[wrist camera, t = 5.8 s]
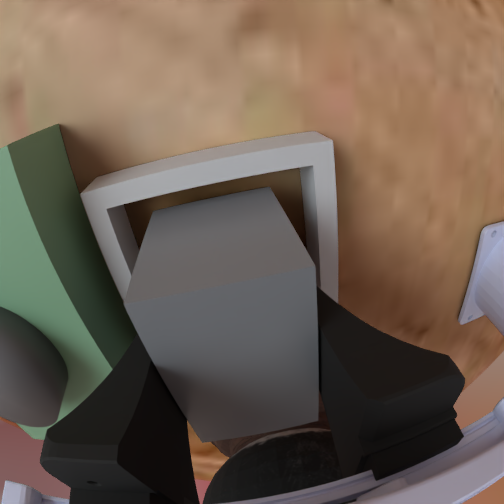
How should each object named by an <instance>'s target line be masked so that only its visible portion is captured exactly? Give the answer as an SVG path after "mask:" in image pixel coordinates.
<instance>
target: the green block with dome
mask: <svg viewBox="0 0 504 504" xmlns="http://www.w3.org/2000/svg"><path fill="white" fill-rule="evenodd" d="M299 167H300V177H301V187H302V197H303V208H304V219H305V231H306V244H307V252H308V254H309V255H310V257H311V259H312V261H313V263H314V264H315V270H316V285H317V286H318V287H319V288H320V289H321V290H322V291H324V292H325V293H326V294H327V295H328V296H329V297H331V298H332V299H333V300H334V301H336V302H337V303H338V224H337V197H336V178H335V162H334V148H333V140H331V139H329V138H327V137H325V136H323V135H322V134H320V133H318V132H316V131H311V132H303V133H296V134H289V135H282V136H275V137H269V138H263V139H257V140H251V141H245V142H240V143H235V144H229V145H224V146H219V147H214V148H209V149H204V150H200V151H195V152H191V153H186V154H182V155H178V156H173V157H169V158H165V159H161V160H157V161H153V162H149V163H145V164H141V165H138V166H134V167H130V168H127V169H123V170H120V171H116V172H113V173H109V174H106V175H102V176H99V177H96V178H95V179H94V180H93V181H92V182H91V183H90V184H89V185H88V186H87V187H86V189H85V190H84V191H83V192H82V193H81V194H79V191H78V188H77V185H76V182H75V179H74V176H73V173H72V170H71V166H70V163H69V160H68V157H67V153H66V150H65V146H64V143H63V139H62V135H61V132H60V128H59V124H56V125H53V126H51V127H48V128H46V129H43V130H41V131H39V132H36V133H34V134H31V135H29V136H27V137H24V138H22V139H20V140H18V141H15V142H13V143H11V144H9V145H7V146H5V147H3V148H1V149H0V416H1V417H3V418H5V419H7V420H9V421H12V422H15V423H17V424H18V425H19V426H20V427H21V428H22V429H23V430H24V431H25V432H26V433H28V434H29V435H30V436H31V437H32V438H34V439H42V440H44V439H45V435H46V431H47V429H48V428H50V427H51V426H53V425H54V424H55V423H57V422H58V421H60V420H61V419H62V418H64V417H65V416H66V415H68V414H69V413H70V412H71V411H72V410H74V409H75V408H76V407H77V406H78V405H79V404H81V403H82V402H83V401H84V400H85V399H86V398H87V397H88V396H89V395H90V394H91V393H92V392H93V391H94V390H95V389H96V388H97V387H98V386H99V385H100V384H101V382H102V381H103V380H104V379H105V378H106V377H107V376H108V375H109V373H110V372H111V371H112V370H113V368H114V367H115V366H116V365H117V363H118V362H119V361H120V359H121V358H122V356H123V355H124V353H125V352H126V350H127V349H128V347H129V346H130V344H131V343H132V341H133V340H134V338H135V336H136V335H137V331H136V329H135V327H134V325H133V323H132V321H131V319H130V317H129V315H128V313H127V311H126V308H125V306H124V302H123V301H124V300H125V297H126V293H127V290H128V286H129V283H130V280H131V276H132V273H133V270H134V267H135V263H136V260H137V257H138V254H139V248H138V245H137V243H136V240H135V237H134V234H133V231H132V228H131V225H130V222H129V219H128V216H127V213H126V210H125V207H124V204H127V203H131V202H135V201H139V200H143V199H147V198H151V197H155V196H159V195H163V194H167V193H172V192H176V191H180V190H185V189H189V188H194V187H198V186H203V185H208V184H212V183H217V182H222V181H227V180H232V179H237V178H242V177H248V176H253V175H258V174H264V173H269V172H275V171H281V170H287V169H293V168H299ZM80 195H81V197H80ZM81 198H82V200H81ZM82 201H83V203H82ZM83 204H84V206H83ZM84 207H85V208H84ZM85 209H86V211H85ZM86 212H87V214H86ZM87 215H88V217H87ZM88 218H89V219H88ZM89 220H90V222H89ZM90 223H91V225H90ZM91 226H92V227H91ZM92 228H93V230H92ZM93 231H94V232H93ZM94 234H95V235H94ZM95 236H96V238H95ZM96 239H97V240H96ZM97 241H98V243H97ZM98 244H99V245H98ZM99 246H100V248H99ZM100 249H101V250H100ZM101 251H102V252H101ZM102 253H103V255H102ZM103 256H104V257H103ZM104 258H105V260H104ZM105 261H106V262H105ZM106 263H107V264H106ZM107 265H108V267H107ZM108 268H109V269H108ZM109 270H110V271H109ZM110 272H111V274H110ZM111 275H112V276H111ZM112 277H113V278H112ZM113 279H114V280H113ZM114 281H115V283H114ZM115 284H116V285H115ZM116 286H117V287H116ZM117 288H118V289H117ZM118 290H119V291H118ZM119 292H120V294H119ZM120 295H121V296H120ZM121 297H122V298H121ZM122 299H123V300H122Z"/></svg>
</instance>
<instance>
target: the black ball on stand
mask: <svg viewBox="0 0 504 504" xmlns="http://www.w3.org/2000/svg"><path fill="white" fill-rule="evenodd" d="M211 442H212V444H213V445H215V446H216V447H217V448H218V449H219V450H220V452H221V453H223V454H224V455H225V456H228V457H230V458H229V459H228V460H227V461H226V462H225V463H224V465H223V466H222V467H221V468H220V469H219V470H218V471H217V473H216V474H215V475H214V477H213V479H212V481H211V483H210V485H209V486H208V488H207V491H206V493H205V497H204V500H203V504H218V503H228V502H236V501H244V500H251V499H258V498H264V497H269V496H275V495H280V494H285V493H290V492H295V491H299V490H303V489H308V488H312V487H316V486H320V485H323V484H327V483H331V482H334V481H338V480H341V479H343V477H342V472H341V468H340V464H339V460H338V456H337V452H336V448H335V444H334V440H333V437H332V433H331V429H330V426H329V422H328V419H327V415H326V412H325V408H324V405H323V402H322V398H321V395H320V392H319V407H318V421H315V422H311V423H307V424H303V425H299V426H294V427H290V428H286V429H281V430H276V431H271V432H266V433H261V434H256V435H250V436H245V437H239V438H232V439H226V440H219V441H211ZM356 501H357V498H356V499H353V500H350V501H347V502H343V503H340V504H348V503H352V502H356Z"/></svg>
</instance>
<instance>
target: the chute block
mask: <svg viewBox="0 0 504 504" xmlns="http://www.w3.org/2000/svg"><path fill="white" fill-rule="evenodd" d="M124 306H125V308H126V311H127V313H128V315H129V317H130V319H131V321H132V323H133V325H134V327H135V329H136V331H137V333H138V335H139V337H140V339H141V341H142V342H143V344H144V346H145V348H146V350H147V352H148V354H149V356H150V357H151V359H152V361H153V363H154V365H155V367H156V368H157V370H158V372H159V374H160V375H161V377H162V379H163V381H164V382H165V384H166V386H167V388H168V389H169V391H170V393H171V394H172V396H173V398H174V399H175V401H176V403H177V404H178V406H179V407H180V409H181V411H182V412H183V414H184V415H185V417H186V419H187V420H188V422H189V423H190V425H191V426H192V428H193V429H194V431H195V432H196V434H197V435H198V437H199V438H200V440H201V441H202V443H203V442H211V441H219V440H226V439H232V438H239V437H245V436H250V435H256V434H261V433H266V432H271V431H276V430H281V429H286V428H290V427H294V426H299V425H303V424H307V423H311V422H315V421H318V407H319V364H318V317H317V290H316V270H315V264H314V263H313V261H312V259H311V257H310V255H309V254H308V252H307V250H306V248H305V247H304V245H303V243H302V241H301V240H300V238H299V236H298V234H297V233H296V231H295V229H294V227H293V226H292V224H291V222H290V221H289V219H288V217H287V215H286V214H285V212H284V210H283V209H282V207H281V205H280V203H279V202H278V200H277V198H276V197H275V195H274V193H273V192H272V190H271V188H270V187H265V188H259V189H254V190H249V191H244V192H239V193H233V194H228V195H224V196H219V197H214V198H209V199H204V200H200V201H195V202H190V203H186V204H181V205H177V206H172V207H168V208H164V209H159V210H155V211H153V213H152V216H151V219H150V221H149V224H148V227H147V230H146V233H145V236H144V239H143V242H142V245H141V248H140V251H139V254H138V257H137V260H136V263H135V267H134V270H133V273H132V276H131V280H130V283H129V286H128V290H127V293H126V297H125V300H124Z"/></svg>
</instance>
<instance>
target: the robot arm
mask: <svg viewBox="0 0 504 504" xmlns="http://www.w3.org/2000/svg"><path fill="white" fill-rule="evenodd" d="M316 290H317V317H318V364H319V392H320V395H321V398H322V402H323V405H324V408H325V412H326V415H327V419H328V422H329V426H330V429H331V433H332V437H333V440H334V444H335V448H336V452H337V456H338V460H339V464H340V468H341V472H342V477H343V479H341V480H338V481H334V482H331V483H327V484H323V485H320V486H316V487H312V488H308V489H303V490H299V491H295V492H290V493H285V494H280V495H275V496H269V497H264V498H258V499H251V500H244V501H236V502H228V503H218V504H340V503H343V502H347V501H350V500H353V499H356V498H357V501H356V502H352V503H348V504H462V503H463V502H465V501H467V500H468V499H470V498H472V497H473V496H475V495H476V494H478V493H480V492H481V491H483V490H484V489H486V488H487V487H489V486H490V485H491V484H493V483H495V482H496V481H497V480H499V479H500V478H501V477H503V476H504V397H503V398H502V399H501V400H500V401H499V402H498V403H497V405H496V406H495V408H494V410H493V411H492V412H490V413H489V414H487V415H486V416H484V417H482V418H481V419H479V420H477V421H475V422H474V423H472V424H470V425H469V426H467V427H465V428H463V429H461V430H460V428H459V426H458V424H457V423H456V421H455V418H456V417H457V413H456V411H455V410H454V408H453V405H454V404H455V402H456V400H457V398H458V397H459V395H460V393H461V392H462V389H463V387H464V384H465V378H464V376H463V375H462V373H461V372H460V370H459V369H458V367H457V366H456V364H455V363H454V362H453V361H452V360H451V358H450V357H449V356H448V355H445V354H441V353H437V352H433V351H430V350H426V349H423V348H420V347H417V346H414V345H411V344H408V343H406V342H403V341H401V340H398V339H396V338H394V337H392V336H390V335H388V334H385V333H383V332H381V331H379V330H377V329H375V328H374V327H372V326H370V325H368V324H367V323H365V322H363V321H362V320H360V319H359V318H357V317H356V316H354V315H353V314H351V313H350V312H349V311H347V310H346V309H345V308H343V307H342V306H341V305H339V304H338V303H337V302H336V301H334V300H333V299H332V298H331V297H329V296H328V295H327V294H326V293H325V292H324V291H322V290H321V289H320V288H319V287H318V286H317V285H316ZM483 315H486V316H487V317H488V318H489V320H490V321H491V322H492V323H493V324H494V325H495V327H496V328H497V329H498V330H499V331H500V332H501V334H502V335H503V336H504V221H503V222H499V223H495V224H492V225H488V226H486V227H484V228H483V230H482V232H481V235H480V240H479V245H478V249H477V254H476V258H475V262H474V266H473V270H472V274H471V278H470V281H469V285H468V289H467V292H466V296H465V299H464V302H463V305H462V309H461V312H460V315H459V318H458V322H459V323H460V324H461V325H463V324H466V323H468V322H470V321H472V320H475V319H477V318H479V317H481V316H483ZM40 464H41V465H42V467H43V468H44V469H45V470H46V471H47V472H48V473H49V474H51V475H52V476H54V477H56V478H57V479H58V480H60V481H61V482H63V483H64V484H66V485H68V486H69V487H71V492H70V499H64V498H58V497H52V496H48V495H43V494H41V493H40V492H39V491H37V490H35V489H34V488H32V487H29V486H27V485H24V484H20V483H16V482H12V481H8V480H6V481H5V486H4V491H3V497H2V503H1V504H200V503H199V499H198V494H197V489H196V484H195V479H194V473H193V467H192V461H191V454H190V446H189V438H188V428H187V419H186V417H185V415H184V414H183V412H182V411H181V409H180V407H179V406H178V404H177V403H176V401H175V399H174V398H173V396H172V394H171V393H170V391H169V389H168V388H167V386H166V384H165V382H164V381H163V379H162V377H161V375H160V374H159V372H158V370H157V368H156V367H155V365H154V363H153V361H152V359H151V357H150V356H149V354H148V352H147V350H146V348H145V346H144V344H143V342H142V341H141V339H140V337H139V335H138V333H137V335H136V336H135V338H134V340H133V341H132V343H131V344H130V346H129V347H128V349H127V350H126V352H125V353H124V355H123V356H122V358H121V359H120V361H119V362H118V363H117V365H116V366H115V367H114V368H113V370H112V371H111V372H110V373H109V375H108V376H107V377H106V378H105V379H104V380H103V381H102V382H101V384H100V385H99V386H98V387H97V388H96V389H95V390H94V391H93V392H92V393H91V394H90V395H89V396H88V397H87V398H86V399H85V400H84V401H83V402H82V403H81V404H79V405H78V406H77V407H76V408H75V409H74V410H72V411H71V412H70V413H69V414H68V415H66V416H65V417H64V418H62V419H61V420H60V421H58V422H57V423H55V424H54V425H53V426H51V427H50V428H48V429H47V431H46V435H45V439H44V444H43V448H42V453H41V457H40Z"/></svg>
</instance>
